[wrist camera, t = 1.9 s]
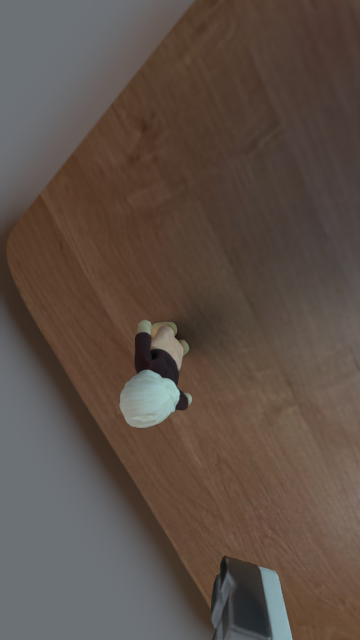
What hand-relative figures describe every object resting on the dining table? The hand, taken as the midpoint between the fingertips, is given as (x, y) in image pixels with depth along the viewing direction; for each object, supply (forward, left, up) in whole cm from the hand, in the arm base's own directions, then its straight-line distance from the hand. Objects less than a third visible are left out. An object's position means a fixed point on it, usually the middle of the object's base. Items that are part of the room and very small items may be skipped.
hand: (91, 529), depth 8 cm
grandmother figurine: (0, 0, -19) cm, 19 cm away
